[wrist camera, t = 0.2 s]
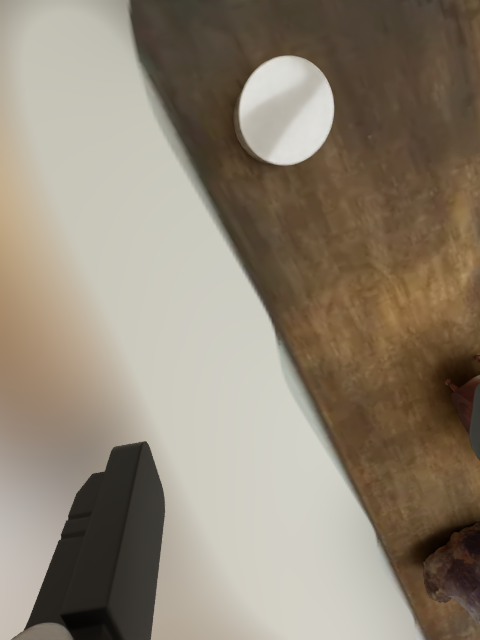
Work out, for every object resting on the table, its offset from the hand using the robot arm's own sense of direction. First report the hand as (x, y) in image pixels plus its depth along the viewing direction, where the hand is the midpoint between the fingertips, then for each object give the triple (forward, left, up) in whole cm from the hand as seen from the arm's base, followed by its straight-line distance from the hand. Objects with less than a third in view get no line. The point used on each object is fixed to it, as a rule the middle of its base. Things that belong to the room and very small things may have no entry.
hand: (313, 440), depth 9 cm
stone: (-8, +3, -17) cm, 19 cm away
